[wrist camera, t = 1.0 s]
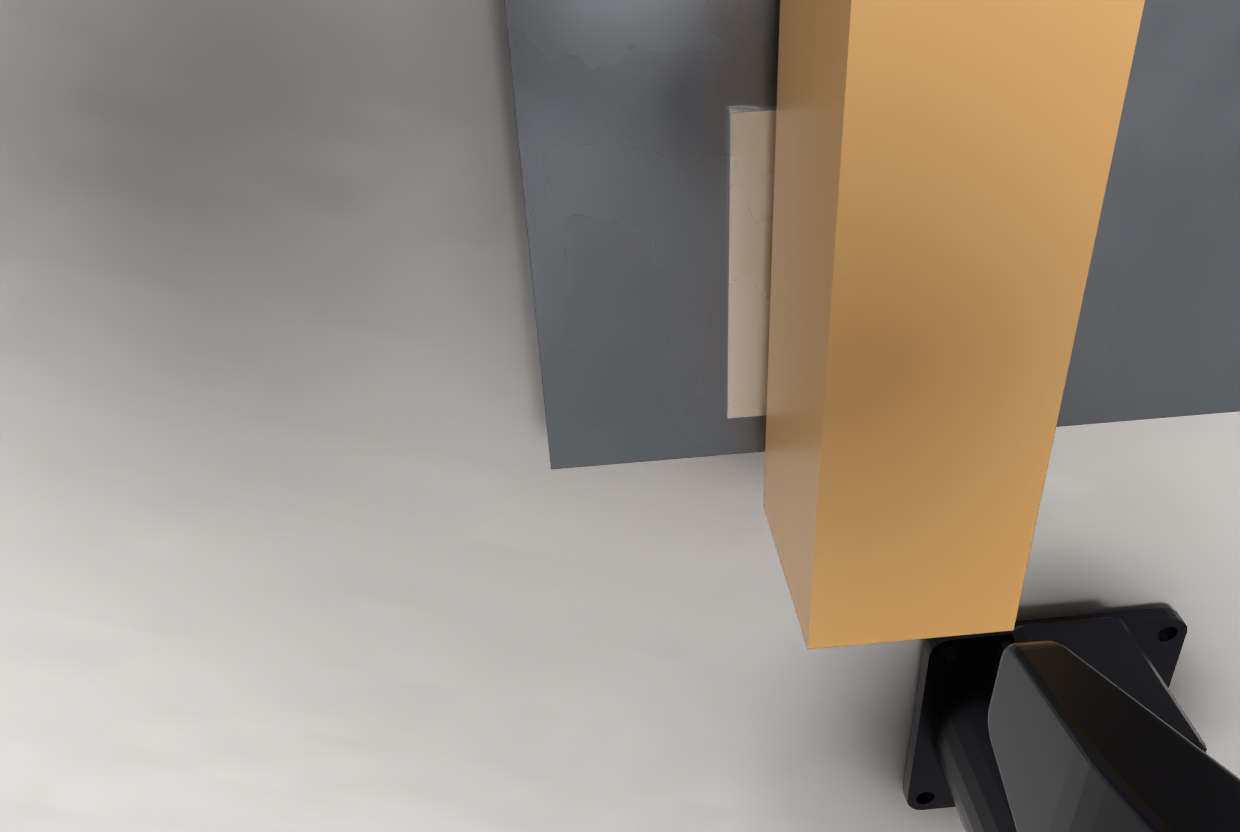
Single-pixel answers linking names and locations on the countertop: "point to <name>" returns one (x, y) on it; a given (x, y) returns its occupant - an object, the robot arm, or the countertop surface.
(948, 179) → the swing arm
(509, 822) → the countertop surface
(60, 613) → the countertop surface
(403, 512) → the countertop surface
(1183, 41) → the label panel
